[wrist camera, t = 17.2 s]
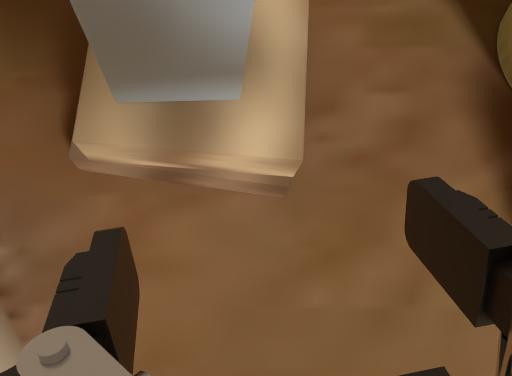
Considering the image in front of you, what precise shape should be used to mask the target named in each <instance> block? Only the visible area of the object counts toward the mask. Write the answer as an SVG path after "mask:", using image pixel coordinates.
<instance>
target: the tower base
mask: <svg viewBox="0 0 512 376" xmlns="http://www.w3.org/2000/svg"><path fill="white" fill-rule="evenodd" d="M72 138H73V137H72ZM68 158H69V159H70V160H71V161H72V162H73V163H74V164H75V165H76V166H77V167H78V168H79V169H80V170H82V171H90V172H97V173H104V174H112V175H119V176H127V177H134V178H142V179H149V180H157V181H164V182H172V183H179V184H187V185H194V186H202V187H209V188H217V189H224V190H231V191H239V192H246V193H254V194H261V195H269V196H276V197H285V195H286V193H287V192H288V190H289V188H290V184H291V177H288V176H276V175H264V174H251V173H239V172H227V171H214V170H202V169H190V168H177V167H165V166H153V165H141V164H128V163H116V162H104V161H91V160H88V158H87V157H86V156H85V155H84V154H83V153H82V152H81V150H80V149H79V148H78V147H77V146H76V145H75V144H74V142H73V141H72V142H71V146H70V150H69V154H68Z"/></svg>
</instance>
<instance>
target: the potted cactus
mask: <svg viewBox="0 0 512 376" xmlns="http://www.w3.org/2000/svg"><path fill="white" fill-rule="evenodd" d="M497 52H498V57H499V62H500V66H501V69H502V71H503V73H504V76H505V78H506V80H507V82H508V83H509V85H510V87H511V88H512V3H511V4H510V5H509V7H508V8H507V11H506V13H505V15H504V17H503V19H502V21H501V23H500V26H499V31H498V36H497Z"/></svg>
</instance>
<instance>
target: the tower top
mask: <svg viewBox="0 0 512 376" xmlns="http://www.w3.org/2000/svg"><path fill="white" fill-rule="evenodd" d="M308 11H309V0H254V7H253V14H252V21H251V28H250V35H249V42H248V49H247V56H246V63H245V69H244V76H243V83H242V90H241V97H240V100H205V101H167V102H130V103H116V101H115V99H114V97H113V95H112V93H111V90H110V88H109V86H108V84H107V82H106V79H105V77H104V75H103V73H102V71H101V68H100V66H99V64H98V62H97V60H96V58H95V55H94V53H93V51H92V49H91V47H90V44H89V45H88V51H87V57H86V63H85V68H84V74H83V80H82V86H81V92H80V97H79V103H78V109H77V115H76V121H75V127H74V132H73V138H72V141H73V142H74V144H75V145H76V146H77V147H78V148H79V149H80V150H81V152H82V153H83V154H84V155H85V156H86V157H87V158H88V160H91V161H104V162H116V163H128V164H141V165H153V166H165V167H177V168H190V169H202V170H214V171H227V172H239V173H251V174H264V175H276V176H288V177H293V176H294V175H295V173H296V171H297V170H298V168H299V166H300V165H301V163H302V161H303V149H304V121H305V94H306V66H307V39H308Z"/></svg>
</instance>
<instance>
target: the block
mask: <svg viewBox="0 0 512 376" xmlns="http://www.w3.org/2000/svg"><path fill="white" fill-rule="evenodd" d="M69 1H70V3H71V5H72V7H73V9H74V12H75V14H76V16H77V18H78V20H79V23H80V25H81V27H82V29H83V31H84V33H85V36H86V38H87V40H88V42H89V44H90V47H91V49H92V51H93V53H94V55H95V58H96V60H97V62H98V64H99V66H100V68H101V71H102V73H103V75H104V77H105V79H106V82H107V84H108V86H109V88H110V90H111V93H112V95H113V97H114V99H115V101H116V103H130V102H167V101H205V100H240V97H241V90H242V83H243V76H244V69H245V63H246V56H247V49H248V42H249V35H250V28H251V21H252V14H253V7H254V0H69Z"/></svg>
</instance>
